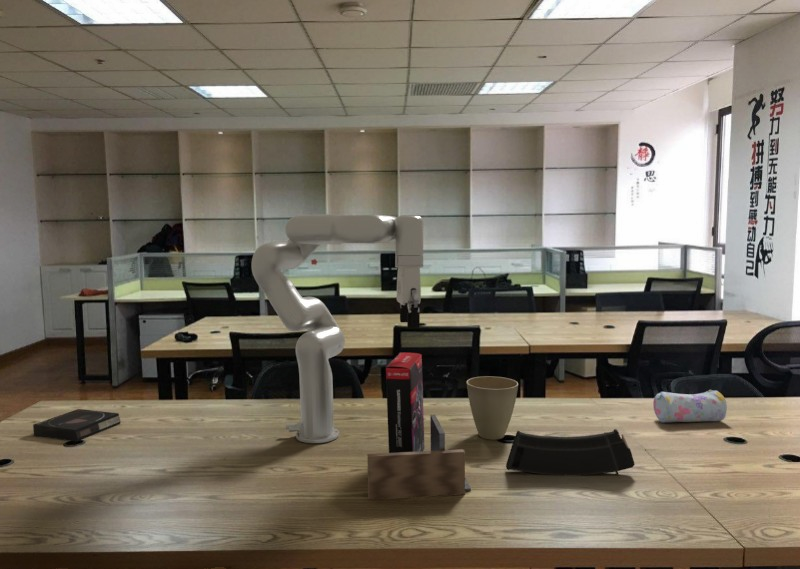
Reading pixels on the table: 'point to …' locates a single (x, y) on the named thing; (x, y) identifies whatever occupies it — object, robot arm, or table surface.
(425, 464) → the shelf lip
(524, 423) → the table surface
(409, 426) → the graphics card box
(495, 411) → the plant pot
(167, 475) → the table surface
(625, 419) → the table surface
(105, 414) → the portable cd player
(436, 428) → the bookend
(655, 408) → the pencil case
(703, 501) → the table surface
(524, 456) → the black curved panel
